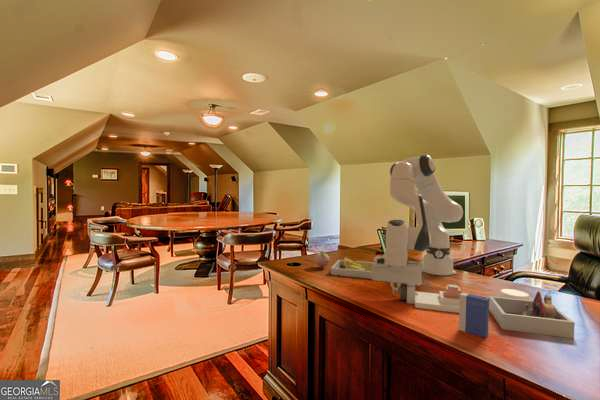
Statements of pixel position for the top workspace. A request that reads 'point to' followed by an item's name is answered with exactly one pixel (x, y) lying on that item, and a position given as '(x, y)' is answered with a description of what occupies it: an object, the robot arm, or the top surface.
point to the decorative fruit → (322, 259)
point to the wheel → (404, 292)
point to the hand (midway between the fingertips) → (395, 292)
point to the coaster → (514, 294)
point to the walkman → (474, 314)
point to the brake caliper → (541, 308)
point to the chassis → (432, 300)
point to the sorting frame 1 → (348, 272)
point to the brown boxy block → (452, 291)
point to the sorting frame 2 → (528, 318)
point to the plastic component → (355, 265)
